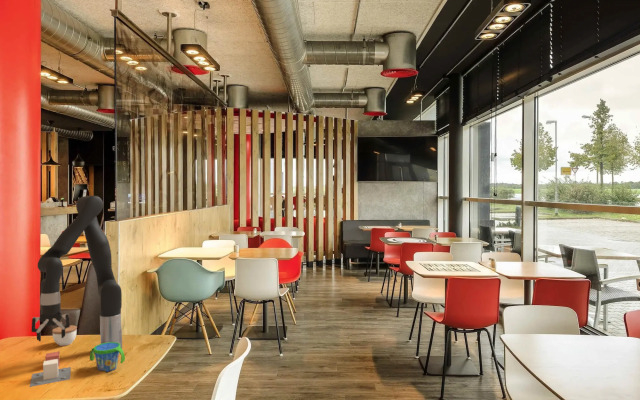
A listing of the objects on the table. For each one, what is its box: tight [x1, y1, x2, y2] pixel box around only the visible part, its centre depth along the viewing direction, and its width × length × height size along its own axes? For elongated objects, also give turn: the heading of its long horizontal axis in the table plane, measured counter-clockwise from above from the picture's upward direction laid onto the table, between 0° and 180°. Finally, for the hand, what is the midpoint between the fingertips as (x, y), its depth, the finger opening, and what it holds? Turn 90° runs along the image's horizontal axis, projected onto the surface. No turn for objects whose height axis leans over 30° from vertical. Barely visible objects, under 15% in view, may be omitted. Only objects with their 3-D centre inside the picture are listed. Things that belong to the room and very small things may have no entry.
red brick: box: [44, 351, 60, 368], centre depth 196 cm, size 5×5×6 cm
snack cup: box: [89, 342, 126, 373], centre depth 194 cm, size 16×10×10 cm
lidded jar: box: [52, 324, 78, 347], centre depth 226 cm, size 11×11×9 cm
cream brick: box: [42, 359, 59, 380], centre depth 185 cm, size 5×5×6 cm
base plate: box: [29, 366, 72, 388], centre depth 185 cm, size 14×14×1 cm
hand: (51, 339), depth 196 cm, fingers open, 8 cm apart
